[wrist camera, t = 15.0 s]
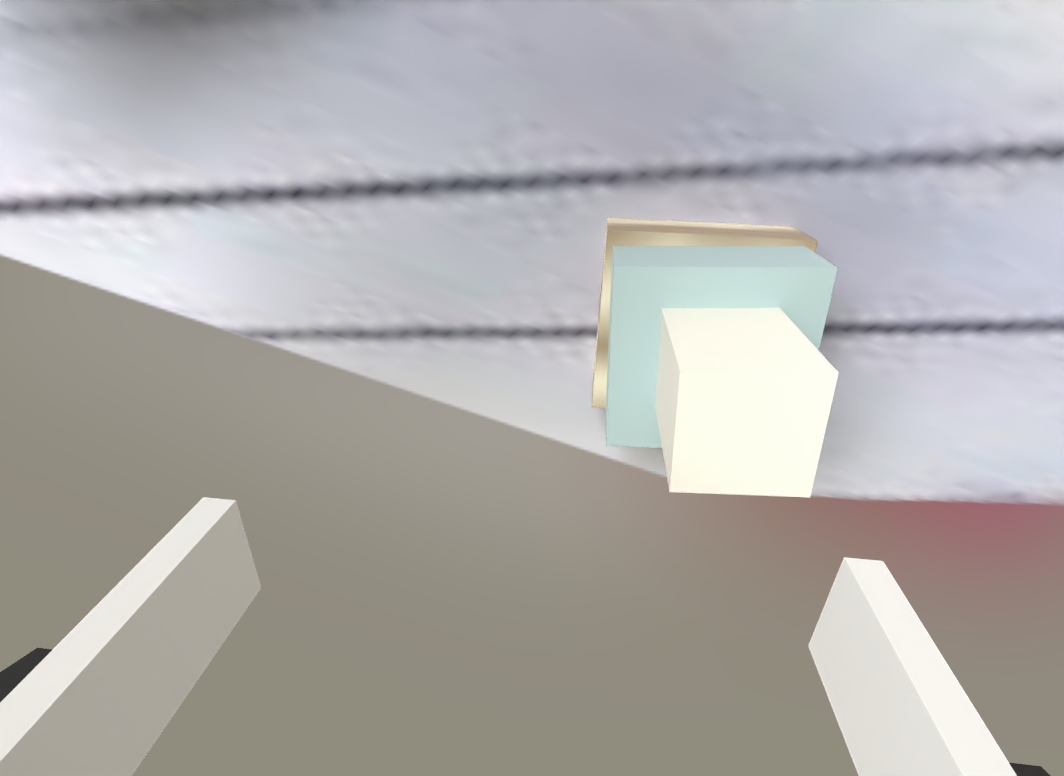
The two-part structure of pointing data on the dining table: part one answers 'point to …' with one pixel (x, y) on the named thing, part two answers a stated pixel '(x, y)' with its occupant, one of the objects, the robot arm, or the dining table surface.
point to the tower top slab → (696, 282)
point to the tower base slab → (673, 235)
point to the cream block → (740, 402)
